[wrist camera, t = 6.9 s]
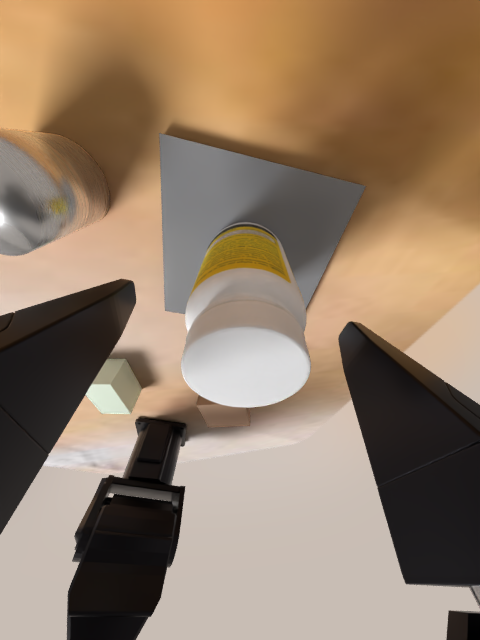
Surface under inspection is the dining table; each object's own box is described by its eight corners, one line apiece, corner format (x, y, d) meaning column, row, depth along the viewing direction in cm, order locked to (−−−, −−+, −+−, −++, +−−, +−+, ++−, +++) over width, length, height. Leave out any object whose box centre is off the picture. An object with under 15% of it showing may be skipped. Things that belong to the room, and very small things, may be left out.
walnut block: (249, 387, 23) (250, 425, 19) (213, 390, 23) (208, 427, 20) (244, 364, 20) (244, 402, 17) (204, 367, 21) (196, 405, 17)
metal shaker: (115, 230, 13) (56, 264, 9) (44, 215, 12) (-53, 244, 8) (101, 145, 10) (9, 140, 6) (11, 123, 10) (-148, 102, 6)
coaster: (292, 328, 17) (293, 332, 16) (167, 306, 16) (165, 310, 15) (360, 184, 11) (366, 186, 10) (163, 134, 10) (159, 133, 9)
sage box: (142, 387, 23) (130, 414, 21) (116, 387, 23) (101, 413, 21) (126, 357, 20) (110, 384, 18) (96, 357, 20) (76, 384, 18)
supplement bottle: (191, 253, 13) (131, 362, 6) (255, 200, 11) (269, 274, 4) (238, 306, 15) (232, 425, 8) (298, 270, 13) (350, 387, 7)
